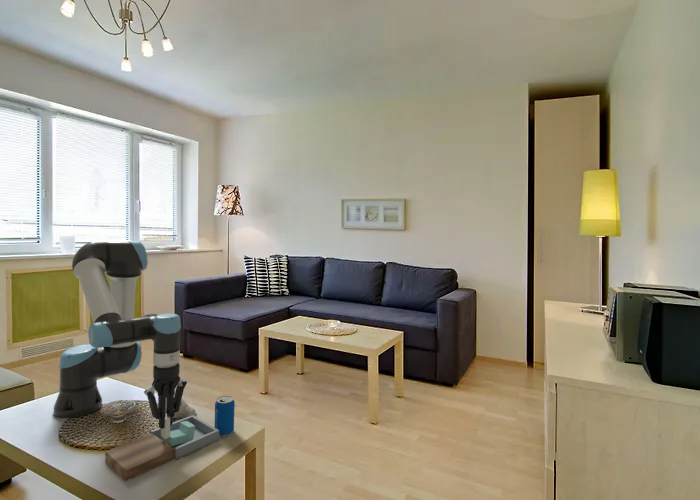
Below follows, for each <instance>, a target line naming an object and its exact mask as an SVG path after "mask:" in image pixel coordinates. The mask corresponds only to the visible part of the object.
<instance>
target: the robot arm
mask: <svg viewBox="0 0 700 500" xmlns="http://www.w3.org/2000/svg"><path fill="white" fill-rule="evenodd" d="M71 261H72V262H71V268H72V272H73V275H74V277H76V278H77V279H78V280H79V283H80V285H81V289H82V292H83V294H84V298H85V301H86V303H87V307H88V309H89V313H90V316H91V319H92V323H91V324H90V325H89V326H88V331H87V332H88V333H87V336H88V337H87V338H88V342H89V343H88V344H80V345H76V346H73V347H70V348H68V349H66V350H64V351H63V352H62V353H61V354H60V356H59V364H58V368H59V391H58V392H59V393H58V395H57V398H56V400H55V402H54V405H53V415H54V416H55V417H58V418H63V419H64V418H66V419H67V418H68V419H69V418H77V417H82V416H87V415H88V414H92V413H94V412H96V411H97V410H99V409H101V407H102V405H103V397H102V396H101V393H100V390H99V388H98V384H97V382H98V379H100V378H106V377H110V376H115V375H120V374H126V373H128V372H132V371H135V370H136V369H137V368H138V367H139V365H140V363H141V361H142V353H143V352H142V345H141V342H143V341H149V340H152V341H153V359H152V360H153V361H152V362H153V367H152V368H153V370H152V374H153V375H152V377H153V381H152V384H151V387H149V388H148V389H145V390H144V391H143V393H144V395H146V397H147V400H148V404H149V407H150V411H151V412H150V413H151V415H152V418H155V419H156V420H158V428H161V436H162V437H163V438H164V439H167V438H169V437H170V426H171V425H172V423H173V422H174V421H173V419H174V418H173V417H174V416H175V414H174V413H176V412H178V411H179V408H180V403H181V399H183V398H182V397H183V394H184V391H185V390H184V389H185V388H186V386H187V383H188V382H187V380H184V379H182V378H181V377H180V367H181V366H180V360H181V358H180V357H181V355H180V354H181V353H180V352H181V350H180V349H181V329H182V325H181V317H180V315H178V314H177V313H162V314H161V313H160V314H157V313H146V314H145V315H143V316H141V317H135V305H136V303H135V302H136V291H137V289H136V288H137V279H138V278H140V277H141V275H142V271H145V270H146V269H147V268H148V263H149V261H148V255H147V250H146V247H145V246H144V244H143V243H142V242H141V241H138V240H129V239H126V240H125V239H124V240H123V239H120V240H119V239H117V240H115V239H114V240H113V239H112V240H101V239H96V240H93V241H89V242H88V243H85V244H84V245H82V246H81V247H80V248H79V249H78V250H77V251H76V253H75V254H74V255H73V258H72V260H71ZM105 272H106V274H105ZM107 278H109V279H110V284H109V281H108V279H107ZM155 391H156V392H157V397H158V398H157V399H158V402H157V399H156V396H155V394H156V392H155Z"/></svg>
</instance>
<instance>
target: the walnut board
mask: <svg viewBox="0 0 700 500" xmlns="http://www.w3.org/2000/svg"><path fill="white" fill-rule="evenodd" d="M104 452H105V453H104V454H105V458H104V459H105V460H104V461H105V463H107V464H108V465H109V466H110V467H111V468H112V469H113V470H114V471H115V472H116V473H117V474H118V475H120V476H121V478H123V479H124V480H125V481H126V482H128V481H129V480H131V479H133V478H135V477H138V476H140V475H142V474H145V473H147V472H150V471H151V470H153V469H155V468H158V467H160V466H162V465H164V464H167V463H169V462H171V461H173V460H175V449H173V448H172V447H171V446H169V445H168V444H166V443H165V442H164V441H162V440H161V439H160V438H158V437H157V436H155V435H154V434H153V433H152V434H151V433H150V434H148V435H144V436H142V437H140V438H136V439H134V440H132V441H129V442H127V443H124V444H121V445H118V446H116V447H114V448H110V449H109V450H105V451H104Z"/></svg>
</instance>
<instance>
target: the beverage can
mask: <svg viewBox="0 0 700 500" xmlns="http://www.w3.org/2000/svg"><path fill="white" fill-rule="evenodd" d="M235 405H236V404H235V399H234V397H233V396H231V395H222V396H218V397H217V398H216V401H215V403H214V426H213V427H215V428H216V429H218V430H219V437H228V436H230V435H231V434H232V433H233V432H234V431H235Z"/></svg>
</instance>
